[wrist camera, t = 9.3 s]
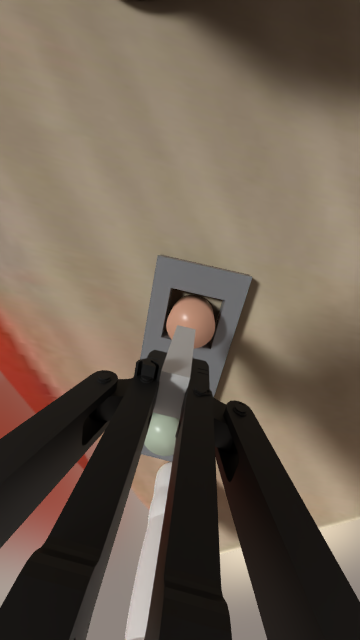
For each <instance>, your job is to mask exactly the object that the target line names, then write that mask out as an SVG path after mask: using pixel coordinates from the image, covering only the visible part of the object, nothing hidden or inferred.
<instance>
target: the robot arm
mask: <svg viewBox="0 0 360 640" xmlns="http://www.w3.org/2000/svg"><path fill="white" fill-rule="evenodd" d="M195 331H196V329H192V328H188V327H183V326H179V325H177V327H176V330H175V333H174V336H173V339H172V341H171V344H170V347H169V350H168V353H167V352H163V351H159V350H153V351H151V352H150V353H149V355H148V356H147V358H145V359H140V360H138V361H137V362H136V368H135V374H134V377H133V378H131V379H118V377H117V375H116V374H115V373H113V372H111V371H105V370H102V371H97V372H95V373H93V374H92V375H90V376H89V377H88V378H86V379H85V380H83V381H82V382H80V383H79V384H78V385H76V386H75V387H73V388H72V389H70V390H69V391H68V392H66V393H65V394H63V395H62V396H61V397H59V398H58V399H56V400H55V401H53V402H52V403H51V404H49V405H48V406H46V407H45V408H44V409H42V410H41V411H39V412H38V413H36V414H35V415H34V416H32V417H31V418H29V419H28V420H27V421H25V422H24V423H22V424H21V425H19V426H18V427H17V428H15V429H14V430H12V431H11V432H9V433H8V434H7V435H5V436H4V437H3V438H1V439H0V548H1V547H2V546H3V545H4V543H5V542H6V541H7V540H8V539H9V538H10V537H11V535H12V534H13V533H14V532H15V531H16V530H17V529H18V528H19V526H20V525H21V524H22V523H23V522H24V521H25V520H26V519H27V518H28V516H29V515H30V514H31V513H32V512H33V511H34V510H35V508H36V507H37V506H38V505H39V504H40V503H41V502H42V501H43V500H44V498H45V497H46V496H47V495H48V494H49V493H50V492H51V491H52V489H53V488H54V487H55V486H56V485H57V484H58V483H59V482H60V480H61V479H62V478H63V477H64V476H65V475H66V474H67V473H68V471H69V470H70V469H71V468H72V467H73V466H74V464H75V463H77V461H78V460H79V459H80V458H81V457H82V456H83V455H84V454H85V452H86V451H87V450H88V449H89V448H90V447H91V445H93V443H94V442H95V441H96V440H97V439H98V438H99V437H100V436H101V434H102V433H103V432H104V431H105V432H104V433H103V435H102V437H101V439H100V441H99V443H98V445H97V447H96V449H95V450H94V452H93V454H92V456H91V458H90V460H89V462H88V463H87V465H86V467H85V469H84V471H83V473H82V475H81V477H80V478H79V481H78V482H77V484H76V486H75V488H74V490H73V492H72V493H71V495H70V497H69V499H68V501H67V503H66V505H65V506H64V508H63V510H62V512H61V514H60V516H59V518H58V520H57V522H56V523H55V525H54V527H53V529H52V531H51V533H50V535H49V536H48V538H47V540H46V542H45V543H44V544H43V546H42V547H41V548H39V549H38V550H36V551H35V552H34V553H33V554H32V555H31V557H30V558H29V559H28V561H27V562H26V564H25V565H24V567H23V569H22V570H21V572H20V574H19V575H18V577H17V579H16V581H15V583H14V584H13V586H12V588H11V590H10V592H9V593H8V595H7V597H6V599H5V600H4V602H3V604H2V606H1V608H0V640H86V637H87V633H88V629H89V625H90V621H91V617H92V613H93V610H94V606H95V603H96V600H97V596H98V593H99V589H100V586H101V583H102V580H103V577H104V573H105V570H106V567H107V563H108V560H109V557H110V554H111V550H112V547H113V543H114V541H115V537H116V534H117V531H118V527H119V524H120V521H121V518H122V514H123V511H124V507H125V504H126V501H127V498H128V495H129V491H130V488H131V485H132V481H133V478H134V475H135V472H136V468H137V465H138V462H139V458H140V455H141V452H142V449H143V445H144V442H145V439H146V435H147V432H148V429H149V426H150V422H151V418H152V413H157V414H161V415H165V416H169V417H173V418H177V419H180V420H179V424H178V428H177V432H176V435H175V437H176V441H175V448H174V454H173V461H172V467H171V474H170V480H169V486H168V493H167V499H166V506H165V512H164V519H163V525H162V532H161V538H160V544H159V551H158V557H157V564H156V570H155V577H154V583H153V589H152V596H151V602H150V609H149V615H148V621H147V627H146V633H145V638H144V640H232V634H231V624H230V615H229V610H228V606H227V603H226V601H225V600H224V598H223V595H222V591H221V576H220V553H219V530H218V507H217V484H216V461H217V464H218V468H219V471H220V475H221V478H222V482H223V485H224V489H225V492H226V496H227V499H228V503H229V506H230V510H231V513H232V517H233V520H234V524H235V527H236V531H237V534H238V538H239V541H240V545H241V548H242V552H243V556H244V559H245V563H246V566H247V569H248V573H249V577H250V580H251V583H252V587H253V590H254V594H255V598H256V601H257V605H258V608H259V612H260V615H261V619H262V622H263V626H264V629H265V633H266V636H267V640H360V602H359V600H358V598H357V596H356V594H355V593H354V591H353V589H352V588H351V586H350V584H349V582H348V580H347V578H346V577H345V575H344V573H343V571H342V570H341V568H340V566H339V564H338V562H337V561H336V559H335V557H334V555H333V554H332V552H331V550H330V548H329V547H328V545H327V543H326V541H325V539H324V538H323V536H322V534H321V532H320V530H319V529H318V527H317V525H316V523H315V522H314V520H313V518H312V516H311V515H310V513H309V511H308V509H307V507H306V506H305V504H304V502H303V500H302V499H301V497H300V495H299V493H298V491H297V490H296V488H295V486H294V484H293V483H292V481H291V479H290V477H289V475H288V474H287V472H286V470H285V468H284V467H283V465H282V463H281V461H280V459H279V458H278V456H277V454H276V452H275V451H274V449H273V447H272V445H271V443H270V442H269V440H268V438H267V436H266V435H265V433H264V431H263V429H262V428H261V426H260V424H259V422H258V420H257V419H256V417H255V415H254V413H253V412H252V410H251V409H250V408H249V407H248V406H247V405H246V404H244V403H242V402H239V401H230V402H228V403H227V405H226V404H224V403H222V402H220V401H218V400H217V399H215V398H214V397H213V394H212V391H211V390H210V382H209V365H208V364H207V362H206V361H203V360H199V359H195V358H192V357H193V349H194V340H195ZM215 457H216V460H215Z"/></svg>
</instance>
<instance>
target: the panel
mask: <svg viewBox="0 0 360 640" xmlns="http://www.w3.org/2000/svg"><path fill="white" fill-rule="evenodd" d="M251 280H252V276H250V275H248V274H244V273H239V272H235V271H230V270H226V269H222V268H217V267H213V266H208V265H204V264H200V263H195V262H191V261H186V260H182V259H178V258H173V257H169V256H164V255H158V257H157V263H156V269H155V275H154V280H153V286H152V292H151V298H150V304H149V310H148V316H147V322H146V328H145V334H144V340H143V345H142V351H141V357H140V359H145V358H147V356H148V355H149V353H150V352H151V351H153V350H159V351H163V352H167V353H168V350H169V347H170V344H171V341H172V339H171V338H170V337H169V335H168V332H165V331H164V329H165V324H166V319H167V314H168V309H169V304H170V299H171V294H172V289H173V288H174V289H178V290H182V291H187V292H191V293H195V294H200V295H204V296H208V297H213V298H217V299H221V300H223V301H222V304H221V307H220V311H219V314H218V318H217V321H216V325H215V332H214V335H213V337H212V339H211V342H208V343H207V344H205V345H204V346H202V347H199V348H195V349H193V357H192V358H195V359H199V360H203V361H206V362H207V364H208V365H209V382H210V390H211V391H212V394H213V397H214V395H215V392H216V388H217V385H218V382H219V379H220V376H221V373H222V370H223V367H224V364H225V361H226V358H227V354H228V351H229V348H230V345H231V342H232V339H233V336H234V333H235V330H236V327H237V323H238V320H239V317H240V314H241V311H242V308H243V305H244V302H245V299H246V296H247V293H248V289H249V286H250V283H251ZM141 454H143V455H147V456H151V457H155V458H159V459H163V460H166V461H170V462H172V461H173V455H170V456H160V455H157V454H154V453H152V452H151V451H150V450H148V449H147V447H146V446H145V444H144V445H143V449H142V452H141Z"/></svg>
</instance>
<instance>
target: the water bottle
mask: <svg viewBox="0 0 360 640" xmlns="http://www.w3.org/2000/svg"><path fill="white" fill-rule="evenodd" d="M171 467H172V462H168V463H166V464H164V465H163V466H161V467H160V469H159V470H158V472H157V476H156V481H155V487H154V496H153V499H152V502H151V506H150V510H149V516H148V527H147V531H146V534H145V538H144V542H143V546H142V550H141V554H140V559H139V563H138V568H137V573H136V577H135V582H134V587H133V592H132V598H131V603H130V609H129V614H128V620H127V627H126V634H125V640H144V638H145V633H146V627H147V621H148V615H149V609H150V602H151V596H152V589H153V583H154V577H155V570H156V564H157V557H158V551H159V544H160V538H161V532H162V525H163V519H164V512H165V506H166V499H167V493H168V486H169V480H170V474H171Z"/></svg>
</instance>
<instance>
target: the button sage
mask: <svg viewBox="0 0 360 640" xmlns="http://www.w3.org/2000/svg"><path fill="white" fill-rule="evenodd" d="M179 420H180V419H177V418H173V417H169V416H165V415H161V414H157V413H152V418H151V422H150V426H149V429H148V432H147V435H146V439H145V442H144V444H145V446H146V447H147V449H148V450H150V451H151V452H152V453H154V454H157V455H160V456H170V455H173V454H174V448H175V441H176V437H175V435H176V432H177V428H178V424H179Z"/></svg>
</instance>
